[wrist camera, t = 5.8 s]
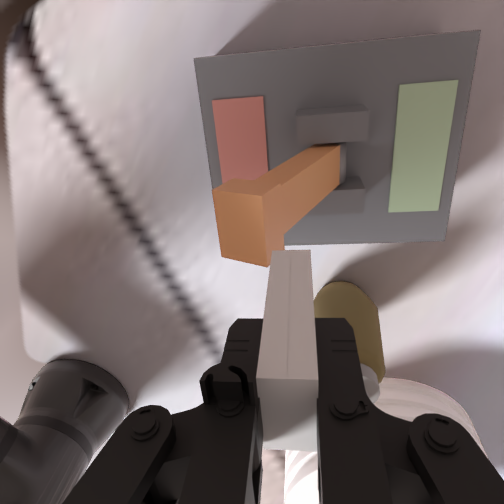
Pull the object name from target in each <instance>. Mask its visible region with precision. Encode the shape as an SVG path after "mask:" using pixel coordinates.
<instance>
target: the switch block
mask: <svg viewBox="0 0 504 504" xmlns="http://www.w3.org/2000/svg"><path fill="white" fill-rule="evenodd" d="M480 31H481V30H473V31H460V32H447V33H436V34H426V35H416V36H406V37H396V38H386V39H376V40H366V41H356V42H346V43H336V44H326V45H316V46H306V47H296V48H286V49H276V50H266V51H256V52H246V53H236V54H226V55H216V56H208V57H201V58H194V64H195V71H196V78H197V85H198V92H199V99H200V106H201V113H202V120H203V126H204V133H205V140H206V147H207V154H208V161H209V168H210V175H211V182H212V189H214V188H216V187H218V186H220V185H222V184H224V183H225V182H227V181H229V180H231V179H233V178H236V179H246V180H255V179H257V178H259V177H260V176H262V175H264V174H265V173H267V172H269V171H270V170H272V169H274V168H275V167H277V166H279V165H280V164H282V163H284V162H285V161H287V160H289V159H290V158H292V157H294V156H295V155H297V154H299V153H300V152H302V151H304V150H305V149H307V148H309V147H310V146H312V145H314V144H322V143H338V142H347V150H346V181H345V182H344V183H342V184H339V185H338V186H337V187H336V188H335V189H334V190H333V191H331V192H330V193H329V194H328V195H327V196H326V197H325V198H324V199H323V200H322V201H320V202H319V203H318V204H317V205H316V206H315V207H314V208H313V209H312V210H310V211H309V212H308V213H307V214H306V215H305V216H304V217H303V218H302V219H301V220H299V221H298V222H297V223H296V224H295V225H294V226H293V227H292V228H291V229H290V230H288V231H287V232H286V233H285V234H284V246H287V245H323V244H359V243H394V242H430V241H445V237H446V231H447V225H448V219H449V213H450V207H451V201H452V195H453V190H454V184H455V178H456V172H457V166H458V160H459V154H460V149H461V143H462V137H463V131H464V125H465V119H466V113H467V107H468V102H469V96H470V90H471V84H472V78H473V72H474V66H475V60H476V55H477V49H478V43H479V37H480Z"/></svg>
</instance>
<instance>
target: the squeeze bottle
mask: <svg viewBox="0 0 504 504" xmlns="http://www.w3.org/2000/svg"><path fill="white" fill-rule="evenodd" d="M314 317H315V318H345V319H346V320H347V321H348V322H349V324H350V325H351V326H352V327H353V330H354V335H355V340H356V345H357V350H358V355H359V360H360V365H361V370H362V375H363V381H364V386H365V390H366V393H367V396H368V397H369V399H370V400H371V402H372V403H373V404H374V403H375V402H376V401H377V400H378V398H379V396H380V388H379V383H381V382H382V379H383V377H384V375H385V365H384V357H383V349H382V340H381V332H380V324H379V316H378V309H377V307H376V306H375V304H374V303H373V302H372V300H371V299H370V298H369V297H368V296H367V295H366V294H365V293H364V292H363V291H362V290H361V289H360V288H359V287H357V286H356V285H354V284H352V283H350V282H344V281H338V282H331V283H330V284H328V285H326V286H324V287H323V288H322V289H321V290H320V291H319V292H318V294H317V296H316V297H315V299H314Z"/></svg>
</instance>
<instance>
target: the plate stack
mask: <svg viewBox="0 0 504 504" xmlns="http://www.w3.org/2000/svg"><path fill="white" fill-rule="evenodd" d="M379 388H380V396H379V398H378V400H377V401H376V402H375V403H374V405H375V406H376V407H377V408H379V409H380V410H382V411H383V412H385V413H387V414H390V415H392V416H394V417H398V418H401V419H404V420H407V421H411V422H412V421H413V420H414V419H415V418H416V417H417V416H420V415H422V414H425V413H437V414H440V415H444V416H447V417H450V418H451V419H453V420H455V421H456V422H458V423H460V424H461V425H462V426H463V427H464V428H465V429H466V430H467V431H468V432H469V433H470V435H471V436H472V437H473V439H474V440H475V441H476V443H477V444H478V446H479V447H480V448H481V450H482V451H483V453H484V454H485V455H486V457H487V458H488V456H487V454H486V452H485V450H484V448H483V446H482V443H481V441H480V439H479V437H478V435H477V433H476V431H475V428H474V426H473V423H472V421H471V419H470V417H469V415H468V414H467V412H466V411H465V410H464V409H463V407H462V406H461V405H460V404H459V403H458V402H456V401H455V400H454V399H453V398H451V397H450V396H448V395H447V394H445V393H443V392H442V391H440V390H438V389H436V388H433V387H431V386H428V385H425V384H422V383H419V382H415V381H411V380H406V379H399V378H387V377H383V379H382V382H381V383H379ZM285 457H286V462H285V485H284V495H285V496H284V504H319V490H318V455H317V452H312V451H291V450H286V455H285Z"/></svg>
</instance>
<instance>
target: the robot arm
mask: <svg viewBox="0 0 504 504" xmlns="http://www.w3.org/2000/svg"><path fill="white" fill-rule="evenodd" d="M200 386H201V391H202V396H203V401H204V403H203V404H201V405H199V406H198V407H196V408H193V409H190V410H187V411H184V412H180V413H176V414H172V415H171V414H170V413H169V411H168V410H167V409H165V408H163V407H162V406H158V405H148V406H144V407H141V408H139V409H137V410H135V411H133V412H132V413H130V414H129V415H128V416H127V417H126V418H125V419H124V417H125V415H126V413H127V411H128V406H129V401H128V397H127V394H126V392H125V390H124V388H123V387H122V385H121V384H120V383H119V382H118V381H117V380H116V379H115V378H114V377H113V376H112V375H110V374H109V373H108V372H106V371H104V370H103V369H101V368H99V367H97V366H95V365H92V364H90V363H87V362H83V361H78V360H69V359H64V360H57V361H53V362H50V363H48V364H46V365H45V366H44V367H43V368H42V369H41V370H40V371H39V372H38V374H37V375H36V376H35V377H34V379H33V380H32V382H31V384H30V386H29V389H28V393H27V395H26V398H25V401H24V403H23V407H22V409H21V412H20V415H19V418H18V420H17V421H16V423H15V424H14V425H11V424H10V423H9V422H7V421H6V420H5V419H3V418H2V417H0V504H260V497H261V485H262V472H263V468H262V459H261V457H262V446H263V449H271V450H291V451H312V452H317V455H318V490H319V504H504V480H503V479H502V477H501V476H500V475H499V473H498V472H497V471H496V469H495V468H494V466H493V465H492V464H491V462H490V461H489V459H488V458H487V457H486V455H485V454H484V453H483V451H482V450H481V448H480V447H479V446H478V444H477V443H476V441H475V440H474V439H473V437H472V436H471V435H470V433H469V432H468V431H467V430H466V429H465V428H464V427H463V426H462V425H461V424H460V423H458V422H456V421H455V420H453V419H451V418H450V417H447V416H444V415H440V414H437V413H425V414H422V415H420V416H417V417H416V418H415V419H414V420H413V421H412V422H411V421H407V420H404V419H401V418H398V417H394V416H392V415H390V414H387V413H385V412H383V411H382V410H380V409H379V408H377V407H376V406H375V405H374V404H373V403H372V402H371V400H370V399H369V397H368V396H367V393H366V390H365V386H364V381H363V375H362V370H361V365H360V360H359V355H358V350H357V345H356V340H355V335H354V330H353V327H352V326H351V325H350V324H349V322H348V321H347V320H346V319H345V318H315V317H314V300H313V284H312V268H311V252H310V250H277V251H272V255H271V263H270V271H269V279H268V287H267V295H266V303H265V311H264V319H237V320H236V321H235V322H234V323H233V325H232V326H231V327H230V328H229V331H228V335H227V339H226V344H225V348H224V352H223V356H222V360H221V363H219V364H217V365H214V366H212V367H210V368H209V369H208V370H207V371H206V372H205V373H203V375H202V377H201V379H200ZM123 419H124V420H123ZM116 429H117V430H116ZM115 430H116V431H115ZM114 431H115V432H114ZM113 432H114V434H113V435H112V436H111V438H110V439H109V440H108V442H107V443H106V445H105V446H104V447H103V449H102V450H101V451H100V453H99V454H98V456H97V457H96V458H95V459H94V461H93V462H92V463H91V465H90V466H89V468H88V469H87V470H86V468H87V466H88V464H89V462H90V460H91V458H92V456H93V454H94V453H95V452H96V451H97V449H99V448H100V446H101V445H102V444H103V443H104V442H105V441H106V440H107V439H108V438H109V436H110V435H111V434H112V433H113ZM85 470H86V472H85ZM84 472H85V473H84Z"/></svg>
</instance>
